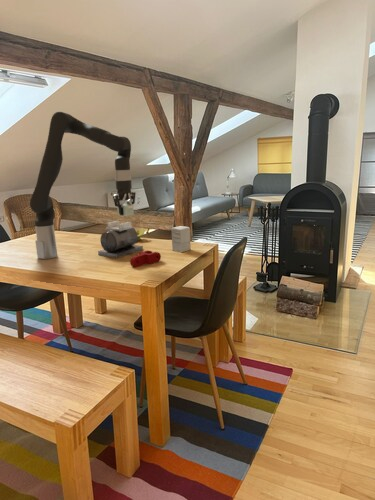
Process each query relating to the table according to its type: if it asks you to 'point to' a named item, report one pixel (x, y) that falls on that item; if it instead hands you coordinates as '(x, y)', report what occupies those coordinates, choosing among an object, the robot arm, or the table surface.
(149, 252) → the mechanical linkage
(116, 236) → the motor
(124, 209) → the pale green block
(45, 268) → the table surface
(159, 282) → the table surface
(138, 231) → the plastic component
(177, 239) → the supplement box
